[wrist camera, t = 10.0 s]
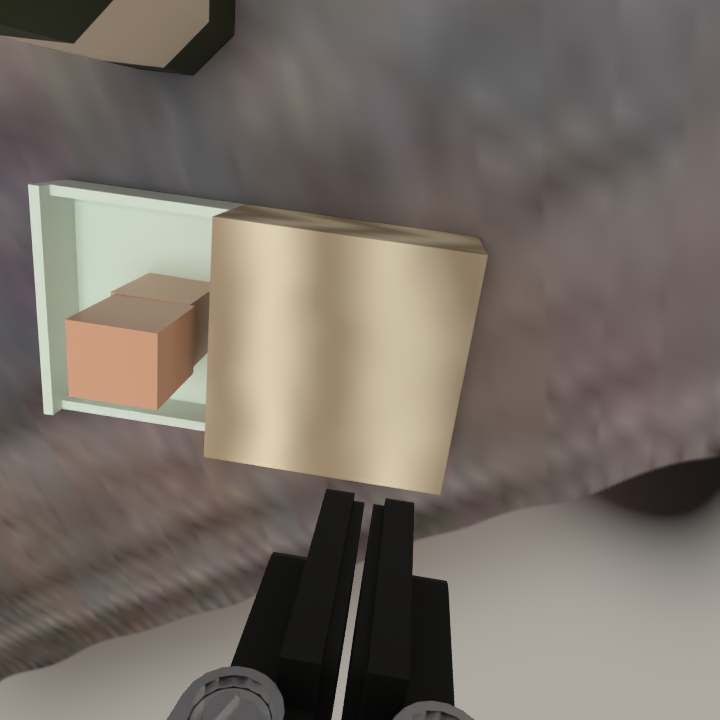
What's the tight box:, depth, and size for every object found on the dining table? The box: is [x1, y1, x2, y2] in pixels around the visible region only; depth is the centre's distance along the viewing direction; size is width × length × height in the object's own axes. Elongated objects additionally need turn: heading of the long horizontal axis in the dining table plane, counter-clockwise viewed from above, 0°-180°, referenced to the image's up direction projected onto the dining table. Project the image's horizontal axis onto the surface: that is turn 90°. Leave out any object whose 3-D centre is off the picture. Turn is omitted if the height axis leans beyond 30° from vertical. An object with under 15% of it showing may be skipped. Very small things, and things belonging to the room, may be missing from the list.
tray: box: [28, 180, 244, 431], centre depth 37 cm, size 11×14×4 cm
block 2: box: [65, 294, 195, 410], centre depth 32 cm, size 5×4×4 cm
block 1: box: [111, 273, 210, 366], centre depth 36 cm, size 5×4×4 cm
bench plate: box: [204, 204, 488, 495], centre depth 36 cm, size 14×14×6 cm
